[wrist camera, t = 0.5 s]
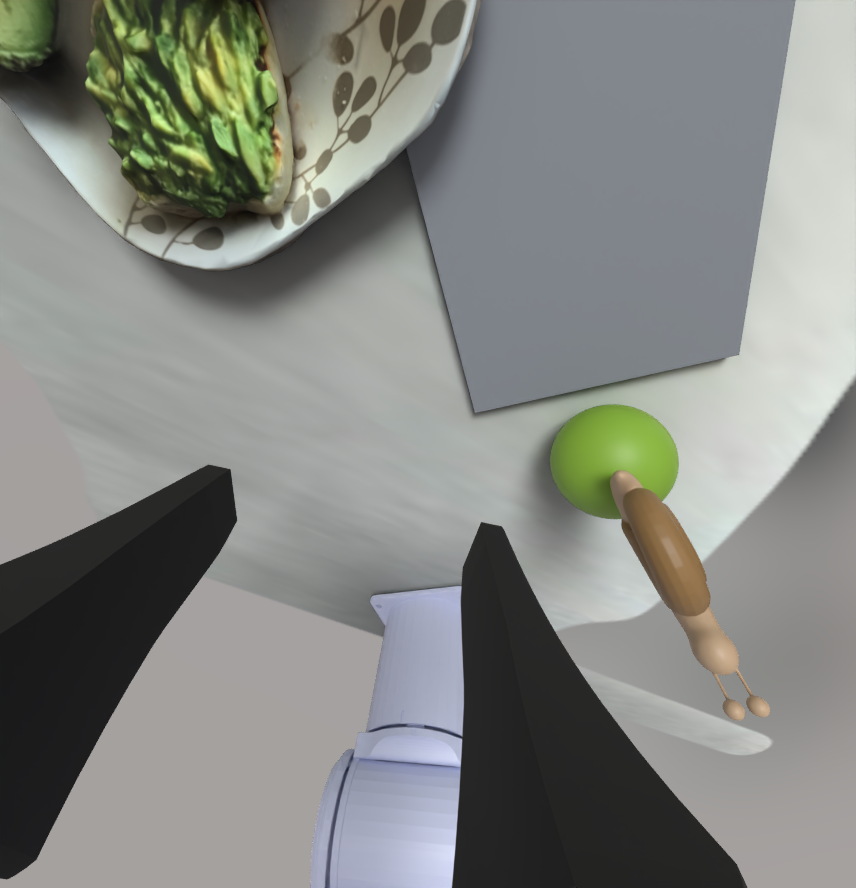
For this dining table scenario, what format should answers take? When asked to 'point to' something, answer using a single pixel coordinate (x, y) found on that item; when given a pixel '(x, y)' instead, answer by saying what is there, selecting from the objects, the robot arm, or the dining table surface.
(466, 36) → the salad plate
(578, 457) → the snail figurine
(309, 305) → the dining table surface
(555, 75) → the slate mat
